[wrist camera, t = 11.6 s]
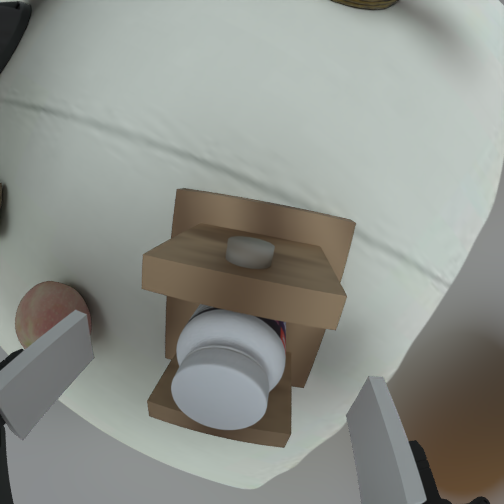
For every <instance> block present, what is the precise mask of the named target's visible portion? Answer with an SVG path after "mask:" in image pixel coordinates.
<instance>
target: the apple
mask: <svg viewBox="0 0 504 504" xmlns="http://www.w3.org/2000/svg"><path fill="white" fill-rule="evenodd" d="M74 310H77V311H80V312H82V313H85V314H87V319H88V326H89V332H90V335H91V317H90V313H89V310H88V307H87V305H86V303H85V301H84V299H83V298H82V296H81V295H80V294H79V293H78V292H77V291H76V290H75V289H73V288H72V287H70V286H68V285H65V284H62V283H59V282H54V281H46V282H42V283H40V284H37V285H36V286H34V287H33V288H32V289H30V290H29V291H28V292H27V293H26V295H25V296H24V297H23V298H22V300H21V302H20V304H19V306H18V309H17V312H16V317H15V329H16V334H17V337H18V339H19V341H20V343H21V345H22V346H23V347H24V349H26V348H28V347H29V346H30V345H31V344H32V343H34V342H35V341H36V340H37V339H39V338H40V337H41V336H42V335H44V334H45V333H46V332H47V331H49V330H50V329H51V328H52V327H54V326H55V325H56V324H57V323H59V322H60V321H61V320H63V319H64V318H65V317H67V316H68V315H69V314H70V313H72V312H73V311H74Z"/></svg>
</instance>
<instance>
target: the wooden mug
mask: <svg viewBox="0 0 504 504" xmlns="http://www.w3.org/2000/svg"><path fill="white" fill-rule="evenodd" d="M332 1H335V2H338V3H341V4H344V5H347V6H353V7H358V8H365V9H372V10H373V9H385V8H387V7H389V6H391V5H393V4H395V3H396V2H397V1H398V0H332Z"/></svg>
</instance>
